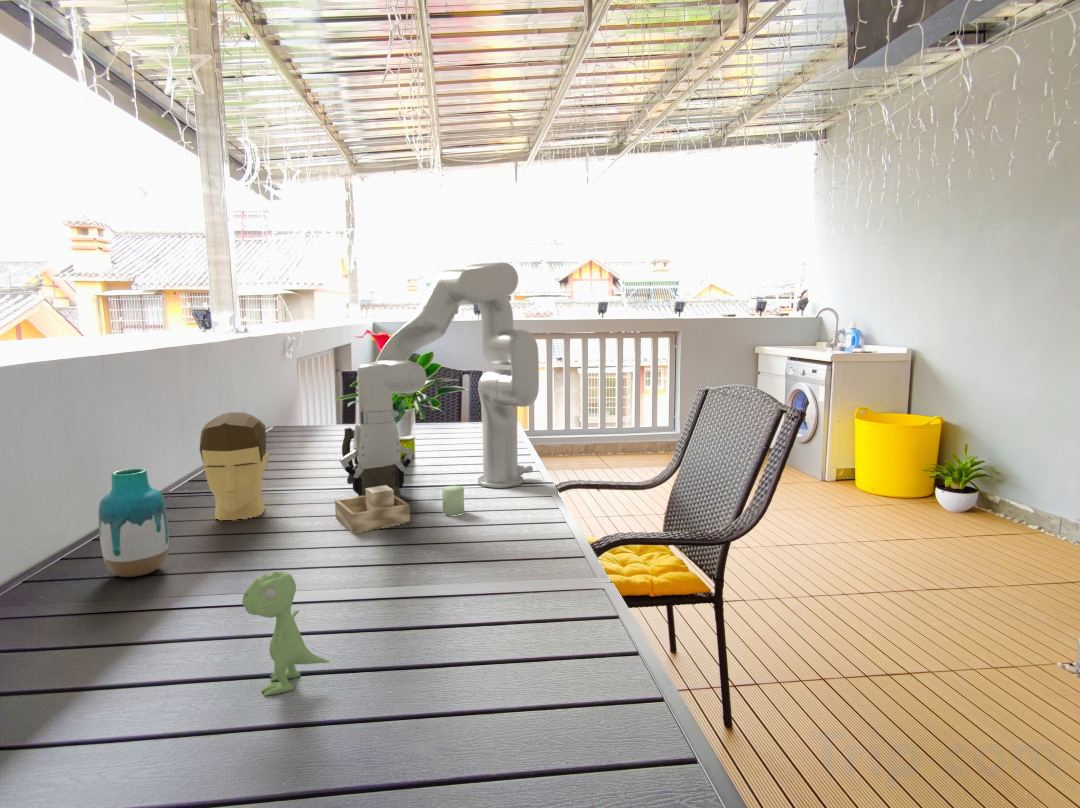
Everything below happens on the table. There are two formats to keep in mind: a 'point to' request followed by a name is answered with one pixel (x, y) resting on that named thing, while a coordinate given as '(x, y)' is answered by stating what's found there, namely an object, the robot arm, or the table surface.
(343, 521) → the box
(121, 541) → the vase
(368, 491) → the cream block
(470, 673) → the table surface
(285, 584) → the toy
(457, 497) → the green cylinder
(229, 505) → the head
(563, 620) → the table surface
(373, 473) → the beer stein
